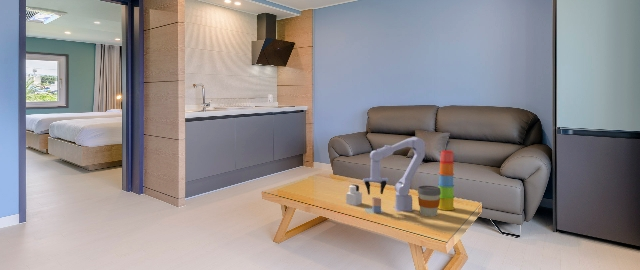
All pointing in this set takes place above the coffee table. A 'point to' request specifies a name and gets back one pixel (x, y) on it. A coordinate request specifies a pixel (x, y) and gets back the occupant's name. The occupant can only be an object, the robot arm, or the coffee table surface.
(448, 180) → the stacking cups
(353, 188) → the medicine bottle
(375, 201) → the salmon orange cube
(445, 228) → the coffee table surface
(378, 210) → the blue brick
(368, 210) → the plate
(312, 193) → the coffee table surface
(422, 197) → the reusable coffee cup
